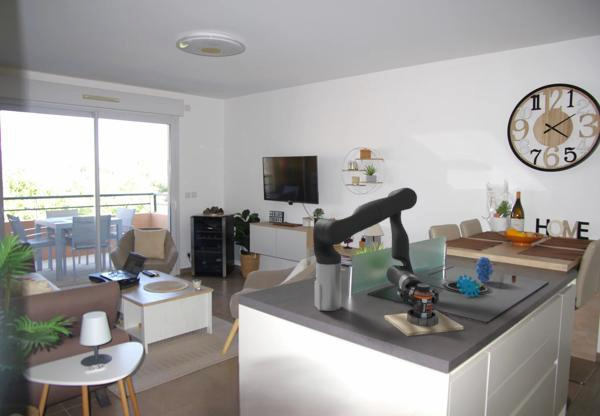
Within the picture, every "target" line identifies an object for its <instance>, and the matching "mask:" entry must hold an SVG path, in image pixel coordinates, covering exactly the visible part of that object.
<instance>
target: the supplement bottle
mask: <svg viewBox="0 0 600 416" xmlns="http://www.w3.org/2000/svg"><path fill="white" fill-rule="evenodd" d="M430 290H431V286H430V284H427V283H423V284H418V285H417V290H416V291H415V292H414V296H415V297H416V304H413V309H414V310H413V316H416V317H420V318H431V317H432V311H433V303H432V292H431V291H430Z"/></svg>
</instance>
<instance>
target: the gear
mask: <svg viewBox="0 0 600 416" xmlns="http://www.w3.org/2000/svg"><path fill="white" fill-rule="evenodd" d="M467 277H468V278H467ZM472 279H473V277H472V276H467V275H466V274H463V275H459V276H458V278H457V280H456V282H457V284H456V287H458V288H459V292H460V293H462V294H464V295H465V296H466V297H467V296H468V295H469V298H474V297H478V296H479V293H481V290H480V288H481V287H482V284H481V283H479V284H477V283H478V282H477V280H476V279H474V280H472ZM469 293H470V294H469Z"/></svg>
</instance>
